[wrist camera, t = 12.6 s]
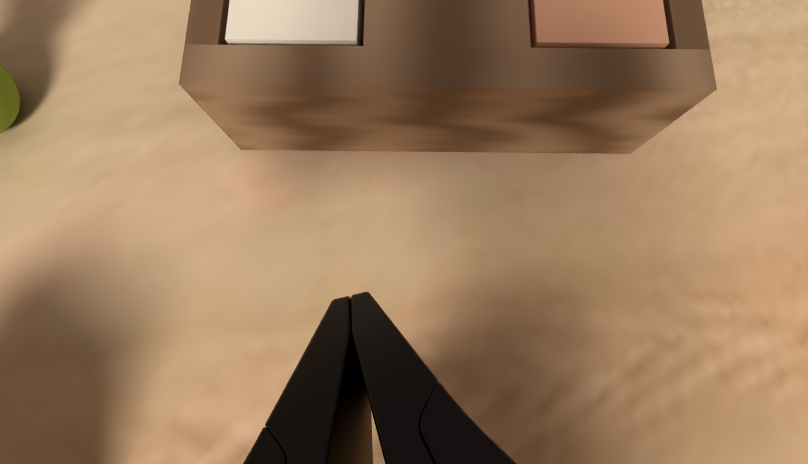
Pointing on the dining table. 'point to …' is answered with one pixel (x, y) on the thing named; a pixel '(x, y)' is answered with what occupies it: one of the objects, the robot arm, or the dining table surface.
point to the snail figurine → (8, 100)
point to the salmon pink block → (598, 24)
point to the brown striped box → (445, 83)
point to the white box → (296, 22)
